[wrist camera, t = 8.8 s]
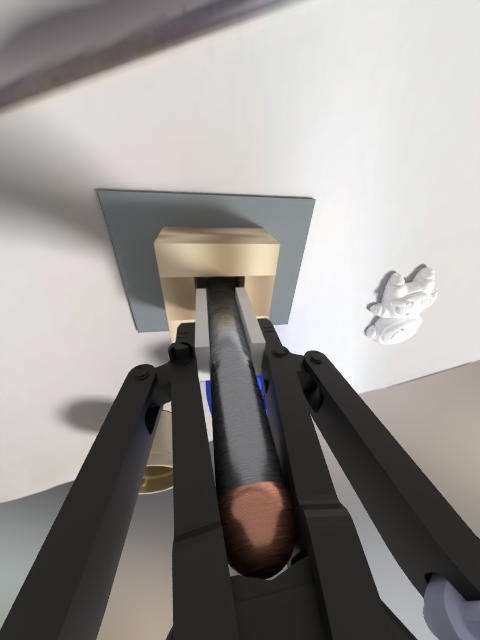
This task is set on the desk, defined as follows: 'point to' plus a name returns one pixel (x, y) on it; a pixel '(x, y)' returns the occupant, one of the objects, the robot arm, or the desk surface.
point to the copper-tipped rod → (244, 449)
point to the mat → (199, 211)
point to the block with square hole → (214, 266)
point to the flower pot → (160, 459)
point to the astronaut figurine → (402, 307)
